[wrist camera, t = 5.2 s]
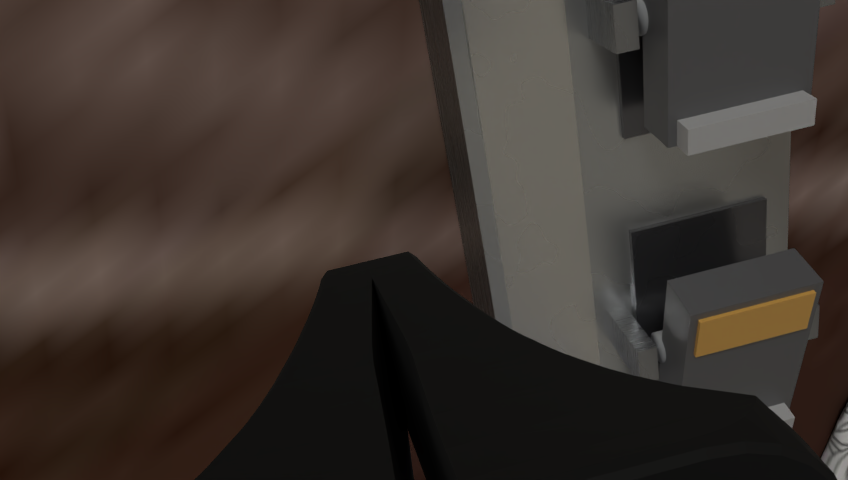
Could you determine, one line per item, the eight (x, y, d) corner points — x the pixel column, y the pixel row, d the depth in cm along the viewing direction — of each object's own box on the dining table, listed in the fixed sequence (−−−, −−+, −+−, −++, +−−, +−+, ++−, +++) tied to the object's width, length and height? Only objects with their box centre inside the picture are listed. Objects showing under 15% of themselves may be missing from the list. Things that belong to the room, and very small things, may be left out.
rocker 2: (756, 366, 23) (799, 429, 21) (645, 396, 23) (681, 461, 21) (785, 234, 20) (839, 296, 18) (656, 267, 19) (698, 332, 18)
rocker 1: (767, 86, 19) (825, 122, 17) (632, 118, 19) (676, 158, 17) (784, -147, 16) (854, -135, 14) (627, -114, 16) (677, -97, 14)
